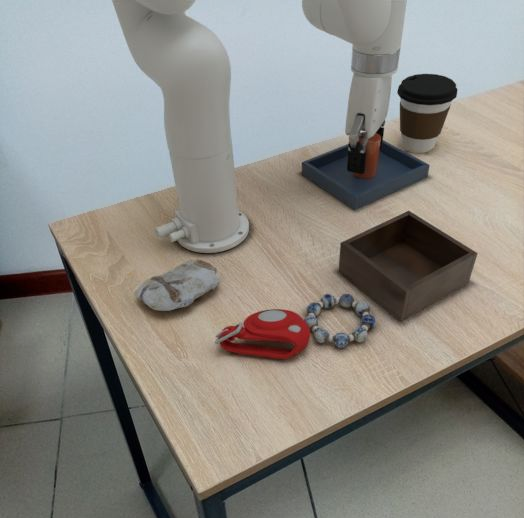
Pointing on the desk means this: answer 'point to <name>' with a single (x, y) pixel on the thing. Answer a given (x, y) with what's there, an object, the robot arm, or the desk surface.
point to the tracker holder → (267, 333)
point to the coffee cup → (424, 109)
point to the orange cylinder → (371, 156)
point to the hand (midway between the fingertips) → (364, 159)
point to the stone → (178, 286)
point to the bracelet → (340, 338)
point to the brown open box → (406, 264)
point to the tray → (364, 190)
